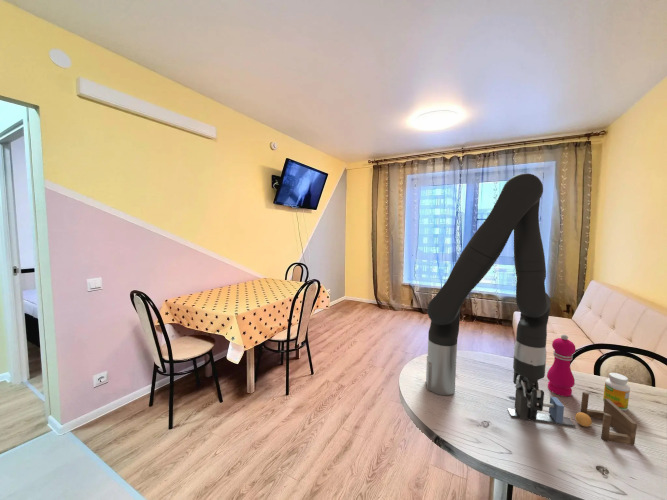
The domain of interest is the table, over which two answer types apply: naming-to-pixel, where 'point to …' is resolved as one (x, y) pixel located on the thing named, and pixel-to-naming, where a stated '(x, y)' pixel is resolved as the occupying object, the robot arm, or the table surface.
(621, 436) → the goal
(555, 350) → the pepper mill
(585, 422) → the ball
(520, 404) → the rod
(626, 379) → the supplement bottle
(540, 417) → the rail
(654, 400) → the table surface
